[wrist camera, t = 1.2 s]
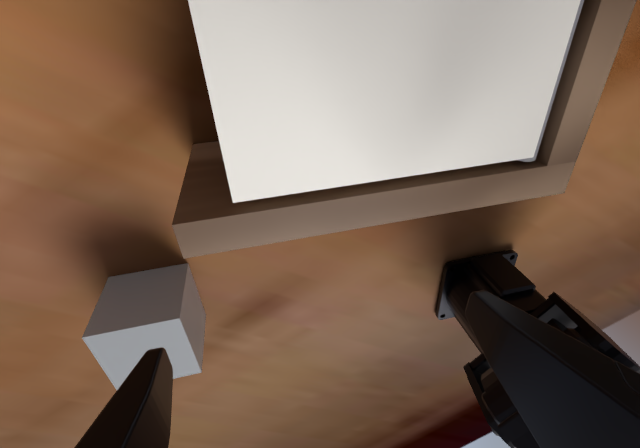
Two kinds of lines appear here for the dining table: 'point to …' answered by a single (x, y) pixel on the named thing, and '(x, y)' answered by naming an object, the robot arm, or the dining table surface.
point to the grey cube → (148, 322)
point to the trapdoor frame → (413, 191)
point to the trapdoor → (377, 86)
